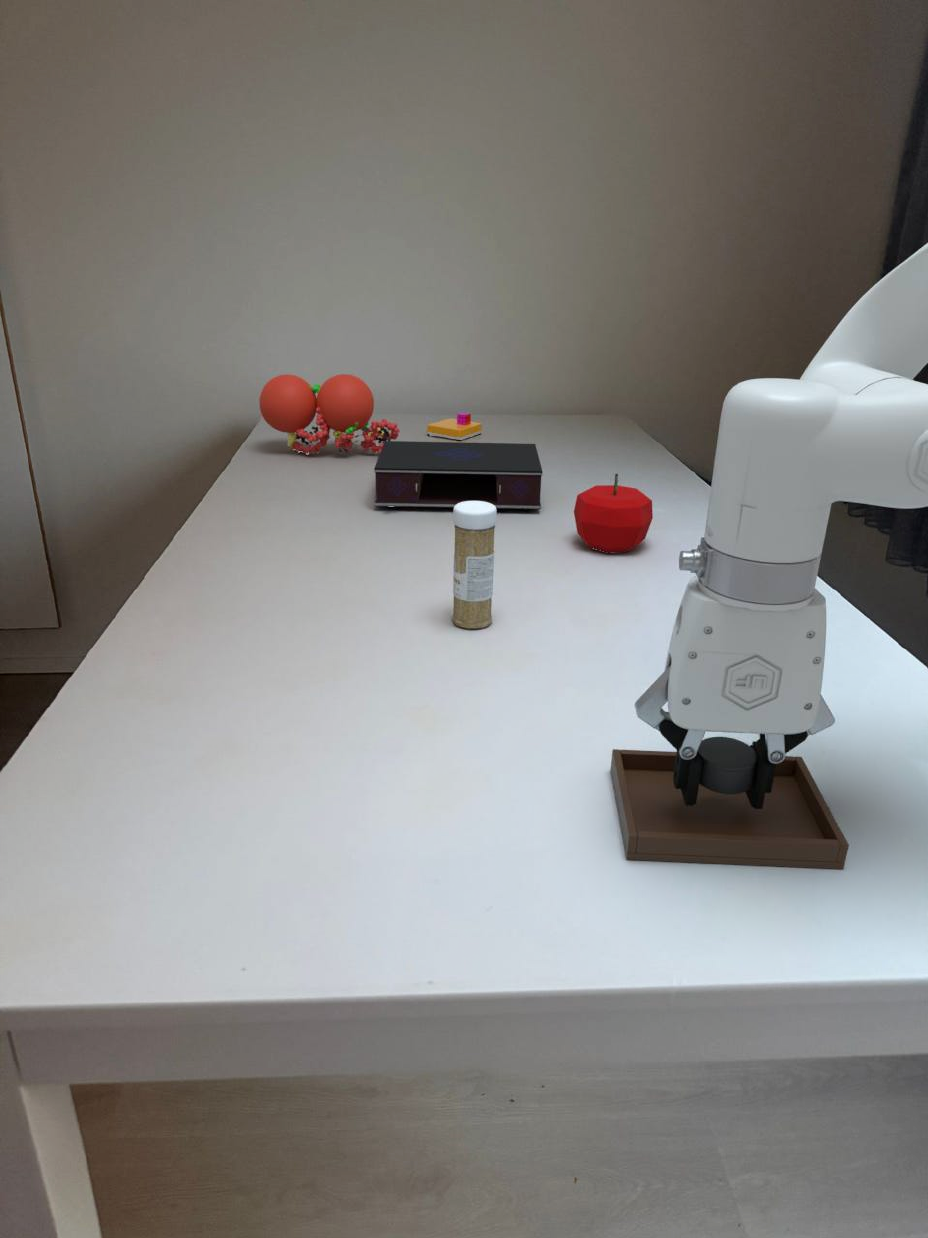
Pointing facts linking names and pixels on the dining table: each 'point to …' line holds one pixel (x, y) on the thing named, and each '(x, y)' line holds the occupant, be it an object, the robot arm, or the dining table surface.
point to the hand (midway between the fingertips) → (719, 794)
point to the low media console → (458, 474)
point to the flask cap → (727, 765)
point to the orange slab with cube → (455, 426)
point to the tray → (723, 818)
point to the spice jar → (473, 563)
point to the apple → (613, 517)
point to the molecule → (323, 412)
